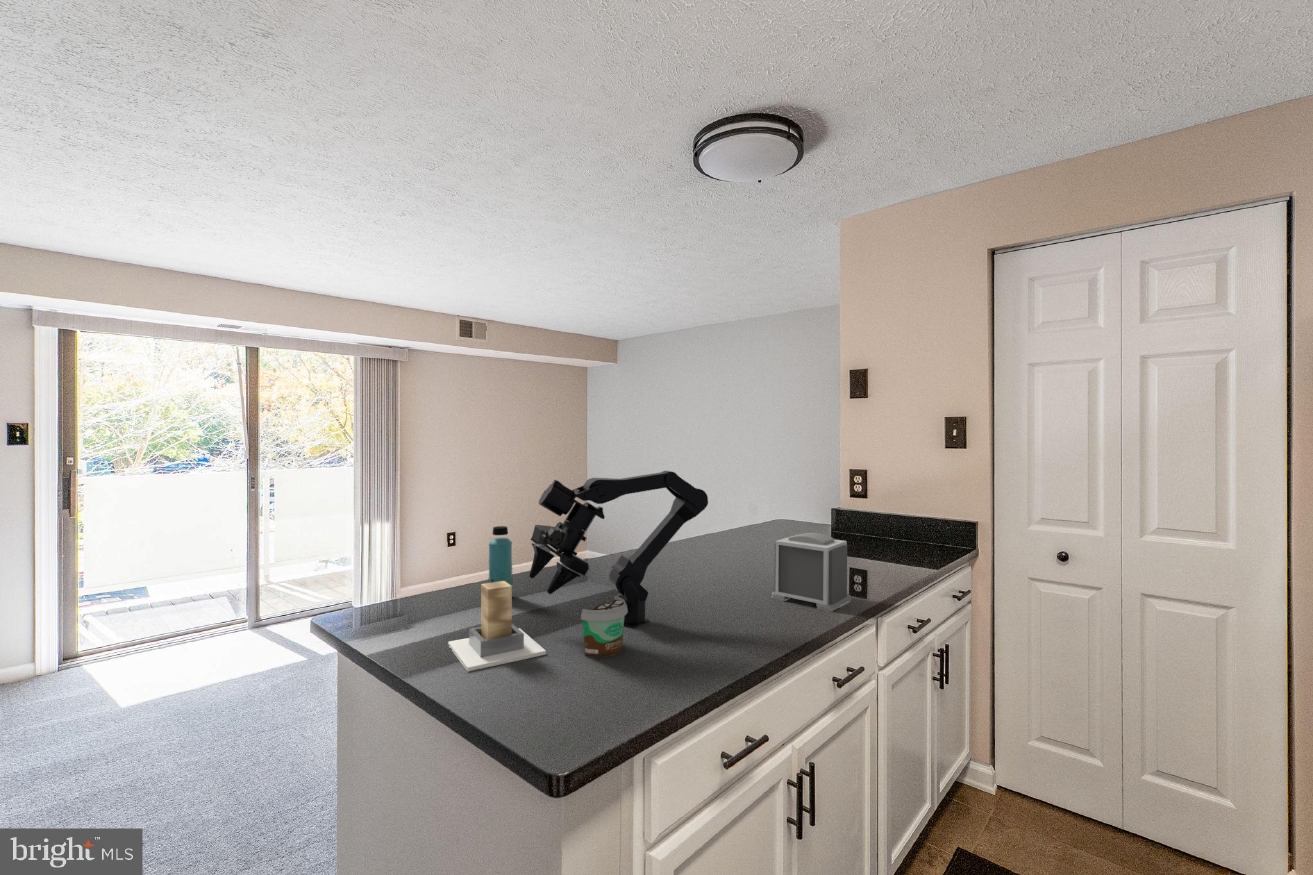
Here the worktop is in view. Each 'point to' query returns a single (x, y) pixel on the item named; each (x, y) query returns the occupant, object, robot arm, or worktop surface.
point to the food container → (604, 628)
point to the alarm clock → (811, 569)
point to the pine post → (496, 609)
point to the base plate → (475, 662)
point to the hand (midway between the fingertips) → (539, 585)
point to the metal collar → (495, 642)
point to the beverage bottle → (500, 557)
